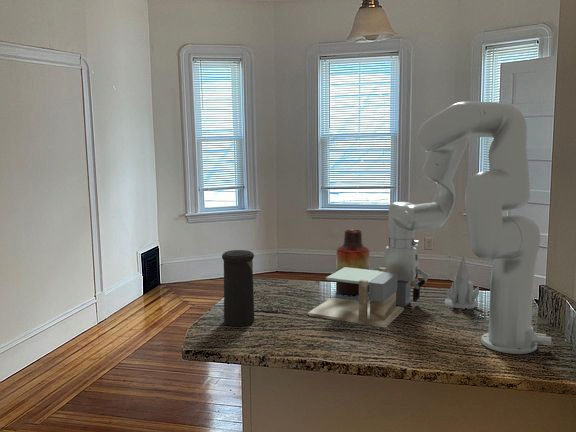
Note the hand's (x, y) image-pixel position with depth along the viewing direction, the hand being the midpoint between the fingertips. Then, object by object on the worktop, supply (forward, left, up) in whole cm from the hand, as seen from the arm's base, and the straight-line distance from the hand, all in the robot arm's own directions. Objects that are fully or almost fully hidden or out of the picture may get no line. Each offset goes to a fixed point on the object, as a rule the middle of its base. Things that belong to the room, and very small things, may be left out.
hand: (399, 298), depth 169 cm
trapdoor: (+7, +14, +5) cm, 17 cm away
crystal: (-17, -8, -2) cm, 19 cm away
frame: (+8, +15, -2) cm, 17 cm away
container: (+34, +37, -2) cm, 50 cm away
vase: (+17, -5, -2) cm, 18 cm away
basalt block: (0, 0, -2) cm, 2 cm away
